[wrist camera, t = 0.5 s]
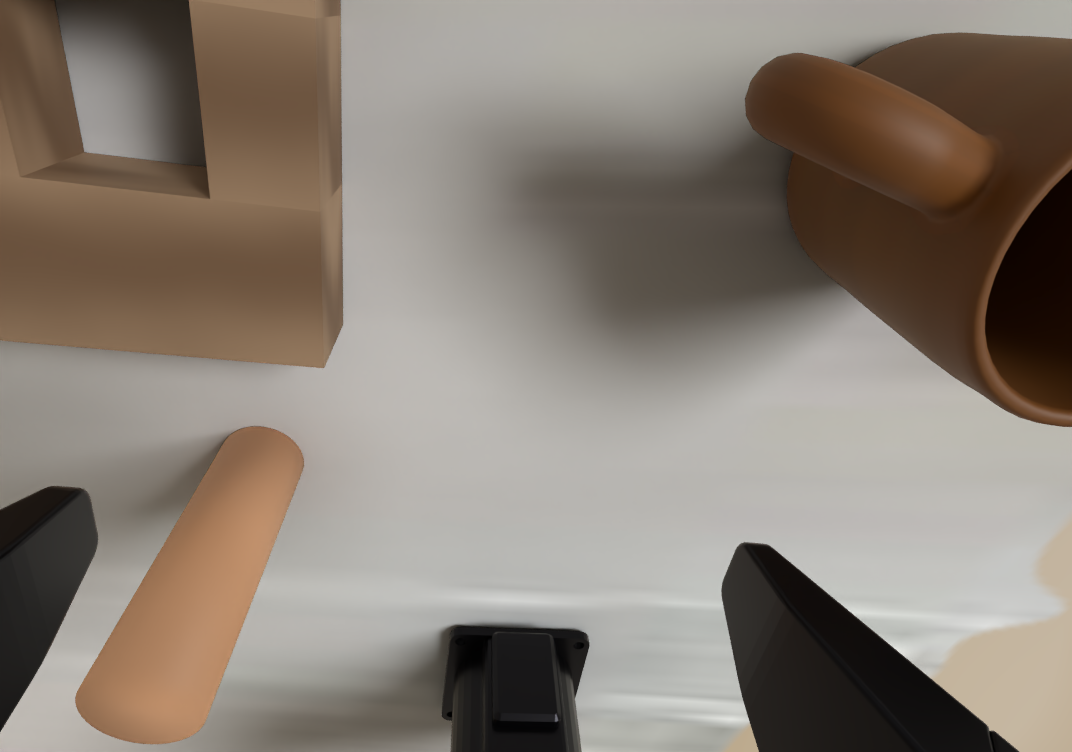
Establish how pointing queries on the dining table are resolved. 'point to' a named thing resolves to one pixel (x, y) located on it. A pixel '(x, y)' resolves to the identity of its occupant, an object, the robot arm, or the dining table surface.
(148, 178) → the hole block
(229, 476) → the peg
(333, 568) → the dining table surface
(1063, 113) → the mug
